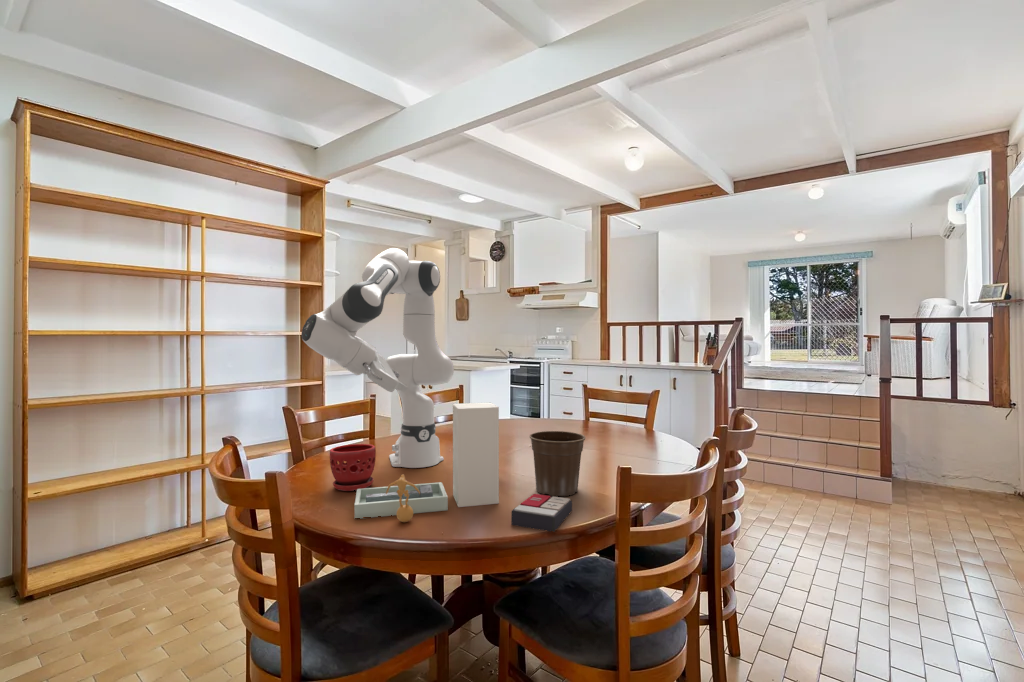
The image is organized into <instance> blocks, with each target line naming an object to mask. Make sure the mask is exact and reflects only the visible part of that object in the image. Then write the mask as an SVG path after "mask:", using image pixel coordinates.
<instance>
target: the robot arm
mask: <svg viewBox="0 0 1024 682" xmlns="http://www.w3.org/2000/svg"><path fill="white" fill-rule="evenodd" d="M361 279H362V281H361V282H357V283H354V284H352V285H351V286H350V287H349V288H348V289H347V290H346V291H345V292H344V293H343V294H342V295H340V296H339V297H338V298H337V299H336V300H335V301H333V302H332V303H331V304H330V305H329V306H328V307H326V308H325V309H324V310H322V311H321V312H318V313H313V314H312V315H310V316H309V317H308V318H307V320H306V321H305V323H304V325H303V326H302V328H301V340H302V341H303V342H304V343H305V345H307V347H308V348H310V349H311V350H313V351H314V352H316V353H317V354H319V355H321V356H322V357H324V358H326V359H328V360H332V361H334V362H336V363H337V364H338V366H340V367H341V368H343V369H345V370H346V371H348V372H350V373H352V374H354V375H355V376H360V375H362V374H363V375H366V376H367V378H368V379H369V380H371V381H372V382H373V383H374V384H375V385H377V386H380V387H381V388H382V389H384V390H385V391H387V392H389V393H393V392H394V391H395V390H396V392H397V393H398V396H399V397H400V401H401V410H402V423H401V427H400V436H399V437H398V439H397V440H396V441H395V444H392V445H391V451H392V452H394V453H391V454H389V455H388V457H389V461H390V465H391V466H392V468H393V467H394V468H395V467H396V468H401V467H402V468H409V469H417V468H418V469H419V468H426V467H432V466H435V465H437V464H439V463H440V462H442V461H444V456H442V455H441V450H440V448H441V447H440V438H439V436H437V435H436V427H437V426H436V422H435V402H434V401H433V400H432V399H433V398H431V397H429V396H428V395H426V394H424V393H423V391H422V390H421V387H420V386H423V385H424V386H438V385H443V384H448V383H449V382H450V380H451V379H452V378H453V376H454V371H455V367H454V363H453V361H452V359H451V357H449V356H448V355H446V354H445V353H444V352H443V350H442V349H441V348H440V345H439V344H438V341H437V337H436V324H435V323H436V322H435V319H436V318H435V312H436V311H435V300H434V293H435V291H437V289H438V287H439V285H440V282H441V273H440V268H439V267H438V266H437V264H436V263H435V262H433V261H429V260H422V261H421V260H410V259H409V256H408V255H407V253H406V252H405V251H403V250H402V249H401V248H396V247H391V248H388V249H386V250H384V251H381V253H379V254H378V255H376V256H375V257H374V258H373V259H372V260H370V262H369V263H368V264H367V265H366V266H365V268H364V270H363V272H362V274H361ZM393 294H394V295H395V294H399V295H405V296H404V303H403V319H402V320H403V321H402V322H403V323H402V325H403V326H402V327H403V329H402V334H403V338H404V339H405V340H406V341H407V342H409V343H410V344H412V345H414V346H415V347H416V349H417V353H414V354H413V353H400V354H395V355H391V356H388V357H387V358H386V359H385V357H384V356H383V355H382V354H381V353H379V352H378V351H377V349H376V347H375V346H374V345H372V344H370V343H369V342H367V341H366V340H364V339H362V338H361V337H359V336H357V332H358V331H360V329H362V328H363V327H365V325H367V324H368V323H370V322H371V321H373V320H374V319H376V318H378V317H380V315H381V314H382V313H383V309H384V304H385V303H384V302H385V298H386V297H387V296H388V295H393Z"/></svg>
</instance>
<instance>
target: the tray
mask: <svg viewBox="0 0 1024 682" xmlns="http://www.w3.org/2000/svg"><path fill="white" fill-rule="evenodd" d="M414 485H415V486H416V488H417V489H418V490H419V485H431V488H432V491H433V497H425V498H413V499H408V502H407V504H408V505H409V506H410V507H411V508H412V509H413V514H421V513H422V514H423V513H432V512H441V511H442V512H443V511H449V510H448V507H449V506H448V505H449V501H448V500H449V498H448V494H447V492H446V489H445V487H444V484H443V481H442V482H440V481H439V482H428V483H416V484H414ZM387 488H388V486H378V487H377V486H376V487H367V488H362V489H357V490H356V493H355V494H356V495H355V500H354V519H355V518H360V519H364V518H363V517H371V518H379V517H378V516H381V517H389V516H391V515H392V516H397V510H398V508H399V507H400V502H399V500H390V501H378V502H367V503H366V495H367V494H379V493H386V491H387ZM397 490H399V488H398V486H397V485H392V486H390V488H389V490H388V493H391V492H397ZM406 490H408V491H415V490H416V489H415V488H414V487H413V486H410V485H406V488H405V491H406ZM405 500H406V499H402V501H401V503H402V505H406V504H405Z"/></svg>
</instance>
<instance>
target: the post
mask: <svg viewBox="0 0 1024 682" xmlns="http://www.w3.org/2000/svg"><path fill="white" fill-rule="evenodd" d="M499 407H500V406H497V405H496V404H494V403H492V402H471V403H469V402H467V403H464V402H463V403H452V497H453V498H454V501H455V503H456V505H457V508H464V507H475V506H484V505H496V504H500V498H499V497H500V493H499V492H500V489H499V488H500V486H499V485H500V482H499V481H500V465H499V463H500V460H499V459H500V452H499V451H500V449H499V448H500V446H499V445H500V438H499V437H500V434H499V433H500V429H499V428H500V418H499V415H500V408H499Z"/></svg>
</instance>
